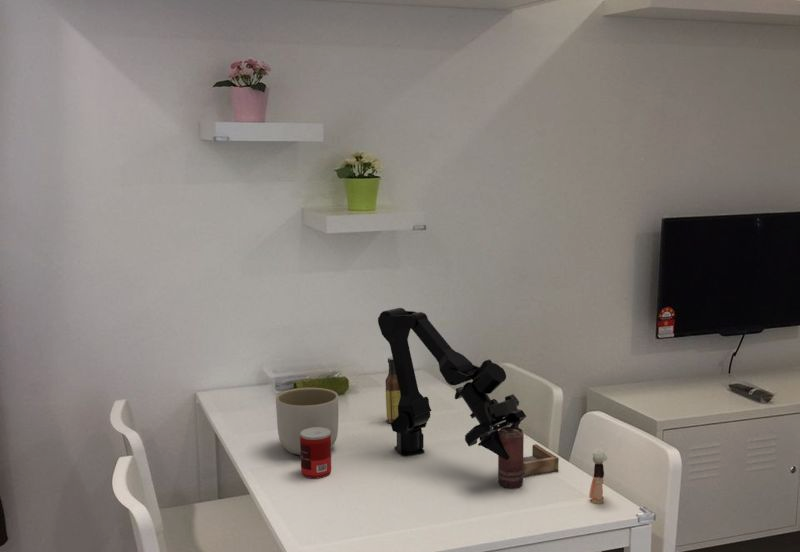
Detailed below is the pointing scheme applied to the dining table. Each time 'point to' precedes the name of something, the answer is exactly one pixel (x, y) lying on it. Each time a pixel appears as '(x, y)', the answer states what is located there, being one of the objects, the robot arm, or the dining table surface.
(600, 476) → the grandmother figurine
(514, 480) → the can
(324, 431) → the canned food
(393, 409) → the sauce bottle
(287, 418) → the planter
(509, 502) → the dining table surface
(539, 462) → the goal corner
